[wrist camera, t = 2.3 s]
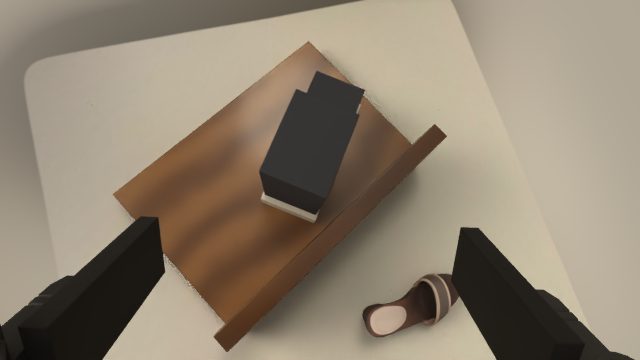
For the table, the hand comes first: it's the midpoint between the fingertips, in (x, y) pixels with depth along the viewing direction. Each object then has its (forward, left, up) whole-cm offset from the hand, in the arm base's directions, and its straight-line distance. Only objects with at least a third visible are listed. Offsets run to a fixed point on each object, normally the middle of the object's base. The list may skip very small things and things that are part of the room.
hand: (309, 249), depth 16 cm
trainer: (-6, +8, -20) cm, 22 cm away
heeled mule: (+12, +5, -22) cm, 25 cm away
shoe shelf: (-7, +4, -22) cm, 23 cm away
